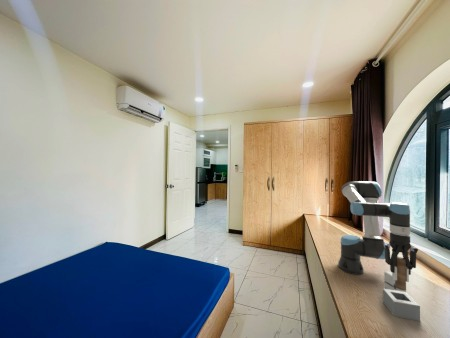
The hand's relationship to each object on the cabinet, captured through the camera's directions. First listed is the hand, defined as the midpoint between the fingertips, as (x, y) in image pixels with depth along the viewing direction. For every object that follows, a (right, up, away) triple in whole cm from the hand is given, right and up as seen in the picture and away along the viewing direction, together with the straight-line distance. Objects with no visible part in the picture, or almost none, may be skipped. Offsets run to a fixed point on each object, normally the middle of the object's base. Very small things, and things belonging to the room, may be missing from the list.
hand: (400, 279), depth 91 cm
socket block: (0, -16, 0) cm, 16 cm away
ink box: (+10, -16, +13) cm, 23 cm away
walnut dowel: (0, -4, 0) cm, 4 cm away
